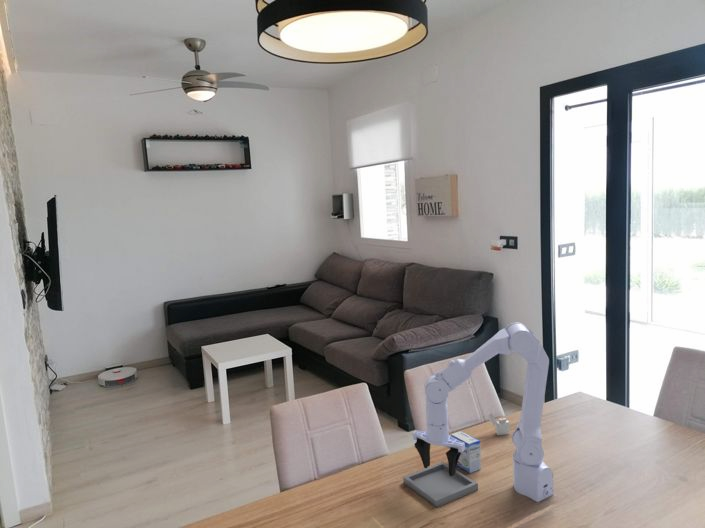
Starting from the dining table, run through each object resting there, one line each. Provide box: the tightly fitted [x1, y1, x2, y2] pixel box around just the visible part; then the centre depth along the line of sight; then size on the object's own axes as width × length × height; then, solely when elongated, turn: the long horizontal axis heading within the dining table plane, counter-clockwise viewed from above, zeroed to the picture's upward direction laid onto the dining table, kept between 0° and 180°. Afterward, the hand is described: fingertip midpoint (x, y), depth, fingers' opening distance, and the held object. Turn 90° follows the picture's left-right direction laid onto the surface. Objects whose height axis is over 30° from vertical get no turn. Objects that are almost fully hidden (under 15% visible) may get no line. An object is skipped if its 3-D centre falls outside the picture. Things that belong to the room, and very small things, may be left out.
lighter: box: [486, 411, 511, 436], centre depth 162 cm, size 7×2×8 cm, turn 99°
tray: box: [402, 461, 479, 508], centre depth 134 cm, size 14×14×2 cm
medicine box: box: [450, 430, 482, 474], centre depth 144 cm, size 8×4×9 cm, turn 30°
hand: (439, 470), depth 134 cm, fingers open, 7 cm apart
